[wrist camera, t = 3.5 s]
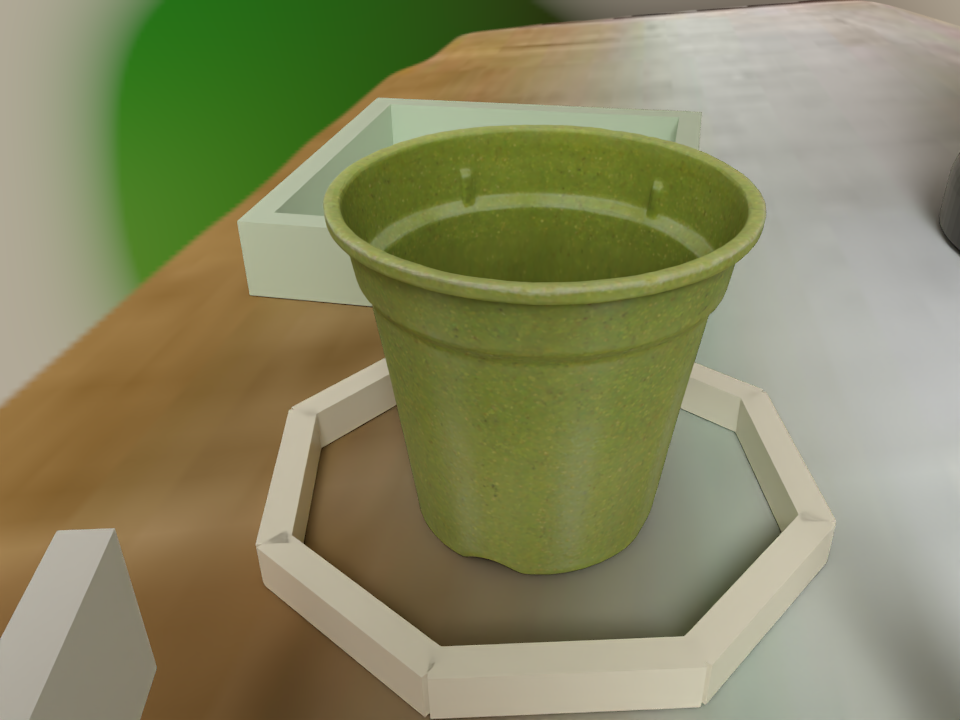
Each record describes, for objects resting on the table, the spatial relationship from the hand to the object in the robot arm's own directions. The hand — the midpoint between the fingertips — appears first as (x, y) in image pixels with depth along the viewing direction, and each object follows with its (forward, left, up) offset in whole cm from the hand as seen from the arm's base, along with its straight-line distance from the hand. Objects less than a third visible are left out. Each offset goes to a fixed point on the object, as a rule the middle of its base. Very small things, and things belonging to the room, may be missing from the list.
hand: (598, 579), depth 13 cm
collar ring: (-7, -7, -6) cm, 12 cm away
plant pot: (-7, -7, -7) cm, 12 cm away
